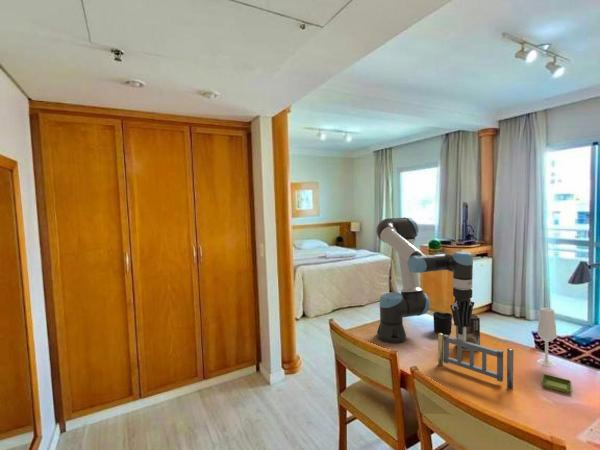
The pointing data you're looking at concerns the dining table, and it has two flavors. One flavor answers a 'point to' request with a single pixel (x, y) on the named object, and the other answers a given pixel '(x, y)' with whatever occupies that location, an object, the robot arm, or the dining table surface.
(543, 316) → the champagne flute
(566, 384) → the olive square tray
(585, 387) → the dining table surface
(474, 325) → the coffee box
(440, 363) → the post
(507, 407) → the dining table surface
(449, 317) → the pen holder
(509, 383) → the hinge post
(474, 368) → the gate
